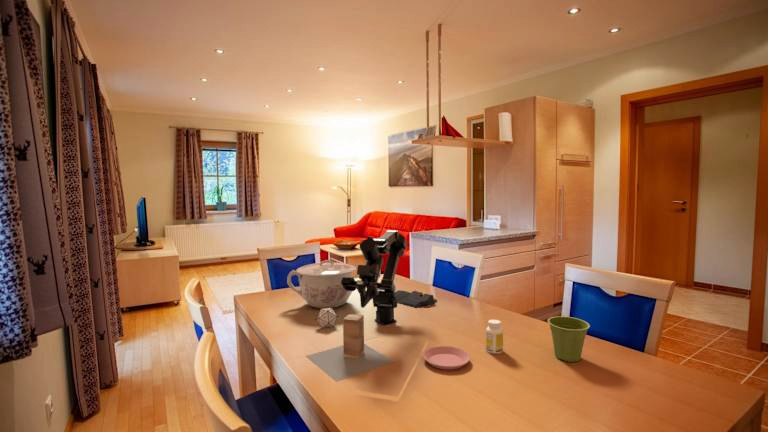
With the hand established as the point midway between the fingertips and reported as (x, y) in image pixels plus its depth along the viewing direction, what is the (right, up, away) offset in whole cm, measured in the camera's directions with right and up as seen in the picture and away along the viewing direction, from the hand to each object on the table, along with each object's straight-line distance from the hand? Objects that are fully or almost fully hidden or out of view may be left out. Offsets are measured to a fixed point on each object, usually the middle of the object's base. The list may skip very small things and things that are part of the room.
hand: (362, 307), depth 130 cm
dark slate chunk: (+20, -10, +53) cm, 58 cm away
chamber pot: (-19, -10, +49) cm, 54 cm away
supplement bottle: (+43, -14, -3) cm, 46 cm away
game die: (-15, -13, +19) cm, 27 cm away
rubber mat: (-3, -14, -10) cm, 18 cm away
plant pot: (+65, -14, -9) cm, 67 cm away
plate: (+27, -15, -11) cm, 32 cm away
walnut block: (-2, -13, -7) cm, 15 cm away
